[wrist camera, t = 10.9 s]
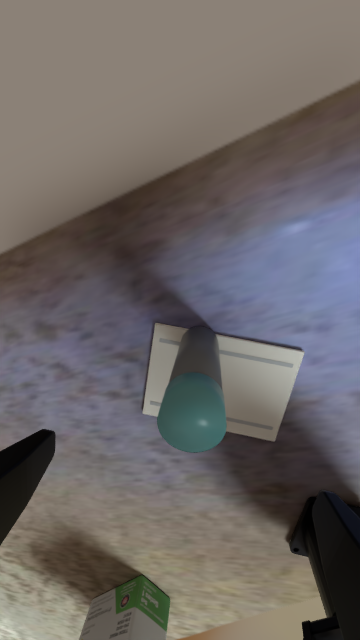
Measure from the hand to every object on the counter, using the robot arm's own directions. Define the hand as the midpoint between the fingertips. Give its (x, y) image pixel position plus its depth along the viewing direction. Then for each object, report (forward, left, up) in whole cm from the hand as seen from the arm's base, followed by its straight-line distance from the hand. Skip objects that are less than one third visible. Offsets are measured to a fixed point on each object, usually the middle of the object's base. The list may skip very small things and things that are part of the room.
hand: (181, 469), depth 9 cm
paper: (-3, -2, -12) cm, 12 cm away
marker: (0, 0, -11) cm, 11 cm away
